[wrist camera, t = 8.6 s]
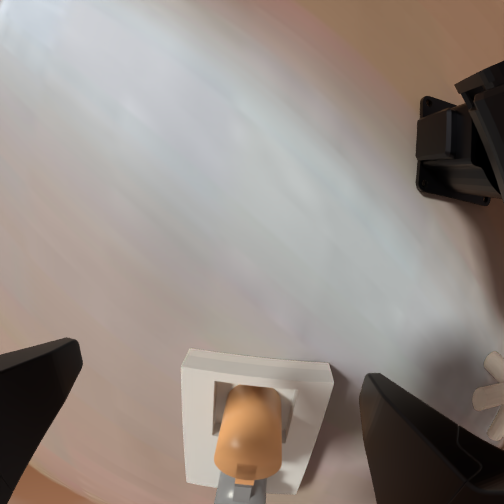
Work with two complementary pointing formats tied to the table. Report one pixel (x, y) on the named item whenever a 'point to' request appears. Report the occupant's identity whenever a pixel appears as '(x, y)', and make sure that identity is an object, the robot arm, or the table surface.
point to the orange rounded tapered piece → (250, 434)
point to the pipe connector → (492, 395)
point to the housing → (212, 409)
